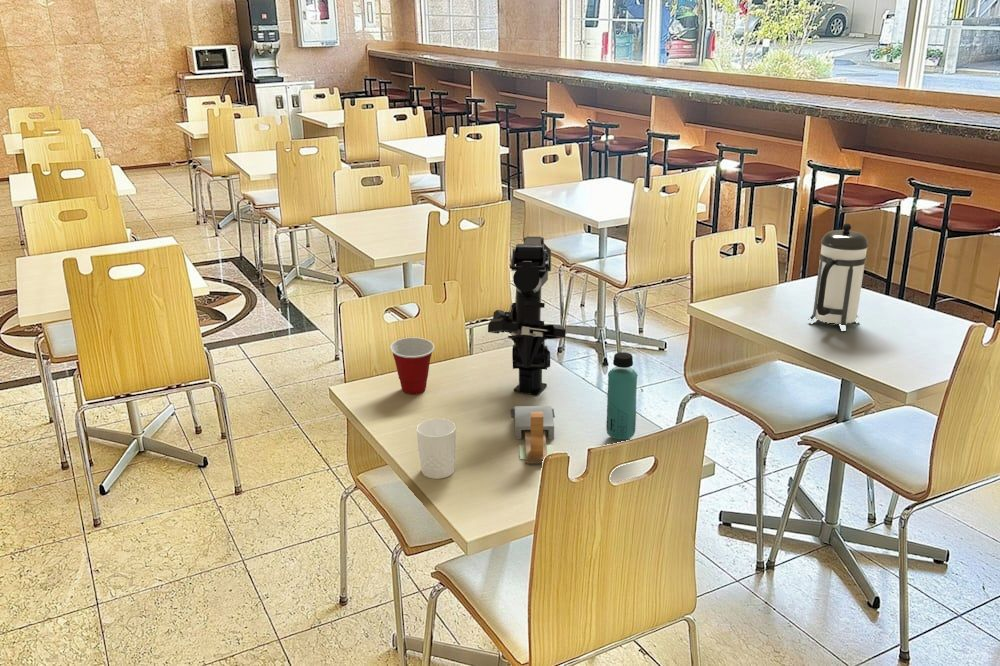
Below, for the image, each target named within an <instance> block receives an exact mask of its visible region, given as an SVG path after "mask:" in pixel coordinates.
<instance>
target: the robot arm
mask: <svg viewBox="0 0 1000 666" xmlns="http://www.w3.org/2000/svg"><path fill="white" fill-rule="evenodd" d="M510 269H511V271H512V272H514V274H513V278H512V279H513V280H512V281H513V283H514V286H515V302H512V303H511V305H510V306H511V307H510V311H504V310H500V309H496V310H495V311H493V316H492V317H493V318H492V319H490V320H489V323H488V325H487V332H488V333H489V334H500V333H508V334H511V335H507V337H508V339H510V340H512V342H513V343H514V344H513V345H512V355H511V356H512V360H511V361H512V370H514V369H516V370H517V369H518V384H517V385H516V386H515V387H514V388H513V392H515V393H516V392H517V393H521V394H527V395H532V396H539V395H540V394H541V393H542V392H543V391H544V389H546V387H547V386H548V384H547V383H544V382H543V370H545V371H546V370H548V369H549V368H550V367H551V351H550V350H549V348H548V345H546V342H545V341H547V340H556V339H558V340H559V339H565V338H566V334H567V333H566V332H567V331H566V330H567V329H566V328H565V327H564V325H560V324H559V325H558V324H546V325H545V321H544V320H542V319H541V315H542V314H541V313H542V312H541V310H542V309H544V308H545V306H546V304H545V303H544V302H542V289H543V286H544V285H545V284H546V283H547V282H548V279H549V272H551V271H552V250H551V249H550V248H549V247H548V246H547V245H546V243H545V238H544V237H542V236H526V237H525V236H524V237H523V243H517V244H516V245H515V248H513V249H512V255H511V264H510Z"/></svg>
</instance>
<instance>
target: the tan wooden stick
mask: <svg viewBox="0 0 1000 666" xmlns="http://www.w3.org/2000/svg"><path fill="white" fill-rule="evenodd" d="M523 431H524V445H525V447H526V464H543V463H542V461H543V459H544V457H545V456H546V455H547V446H546V445H547V441H546V440H547V439H546V430H543V412H531V430H523Z"/></svg>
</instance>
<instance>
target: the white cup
mask: <svg viewBox="0 0 1000 666" xmlns="http://www.w3.org/2000/svg"><path fill="white" fill-rule="evenodd" d="M456 430H457V426H456V424H455V423H454V422H453V421H452V420H449V419H447V418H430V419H425V420H424V421H423V420H422V421H421V422H420V423H418V425H417V426H416V435H417V436H416V437H417V445H418V446H417V448H418V452H419V453H418V455H419V461H420V469H421V471H420V472H421V473H422V474H423V476H425V477H426V478H429V479H435V480H439V479H445V478H447V477H451V476H452V474H454V473H455V464H456V463H455V459H456V447H457V446H456V445H457V443H456V441H457V435H456V433H457V431H456Z"/></svg>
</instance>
